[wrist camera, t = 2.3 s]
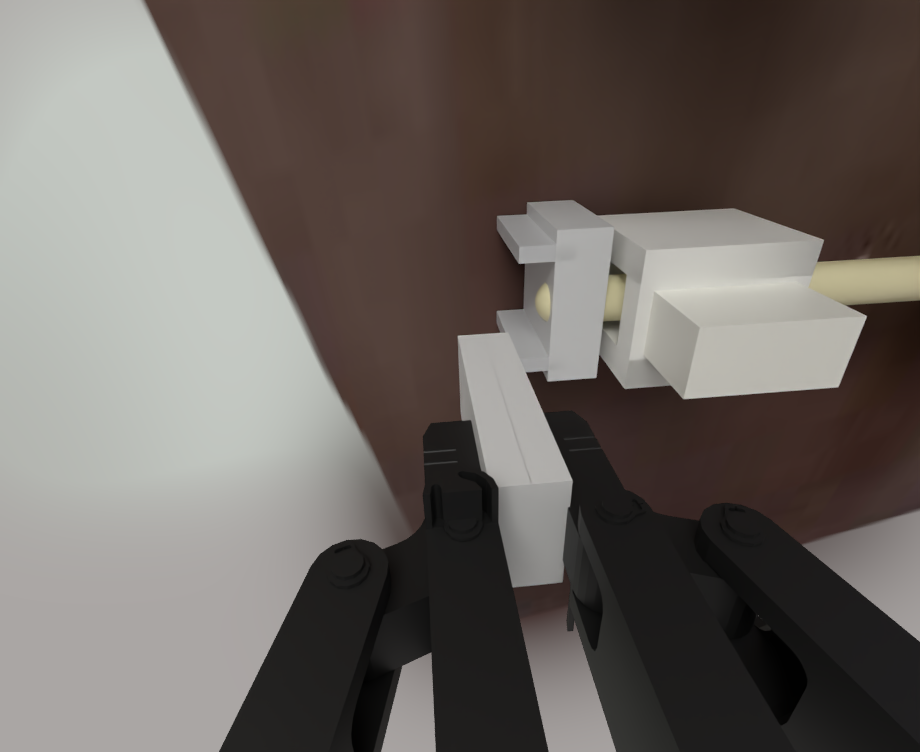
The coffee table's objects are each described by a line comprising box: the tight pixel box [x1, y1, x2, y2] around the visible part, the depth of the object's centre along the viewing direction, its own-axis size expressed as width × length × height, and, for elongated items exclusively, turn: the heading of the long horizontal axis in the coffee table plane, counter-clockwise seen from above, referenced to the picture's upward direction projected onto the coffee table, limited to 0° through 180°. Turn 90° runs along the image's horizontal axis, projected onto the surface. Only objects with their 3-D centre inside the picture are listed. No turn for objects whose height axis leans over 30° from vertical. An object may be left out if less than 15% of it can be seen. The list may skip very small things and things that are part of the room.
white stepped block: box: [598, 208, 867, 399], centre depth 18 cm, size 5×6×8 cm
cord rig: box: [497, 200, 920, 381], centre depth 21 cm, size 6×27×6 cm, turn 92°
